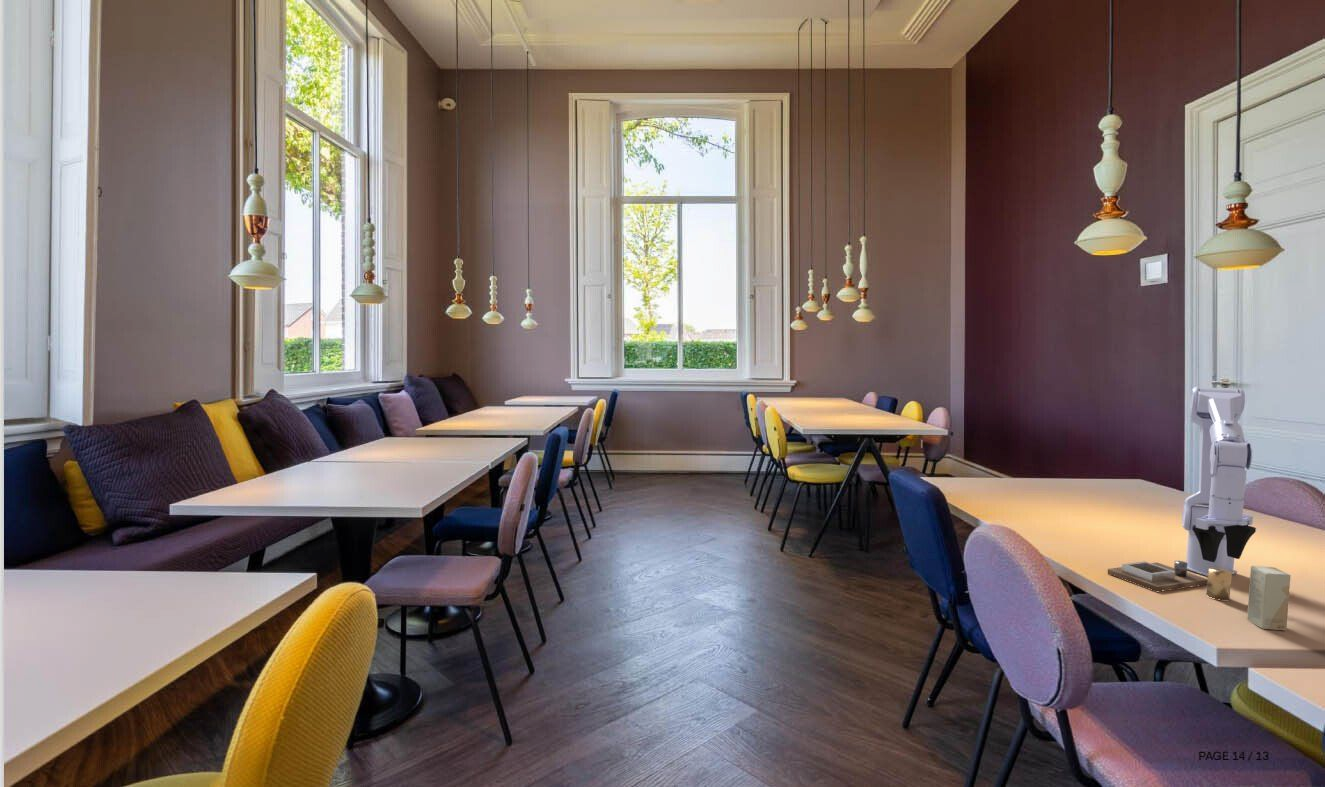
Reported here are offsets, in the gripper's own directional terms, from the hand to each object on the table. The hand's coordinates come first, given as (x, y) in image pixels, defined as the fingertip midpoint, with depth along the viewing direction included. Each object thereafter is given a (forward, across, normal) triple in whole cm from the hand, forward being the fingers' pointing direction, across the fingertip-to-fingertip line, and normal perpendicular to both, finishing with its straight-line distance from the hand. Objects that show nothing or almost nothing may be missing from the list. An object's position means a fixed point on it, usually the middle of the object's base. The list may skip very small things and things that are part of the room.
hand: (1221, 559), depth 152 cm
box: (+9, -6, -13) cm, 17 cm away
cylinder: (+8, 0, 0) cm, 9 cm away
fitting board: (+8, -2, +12) cm, 15 cm away
